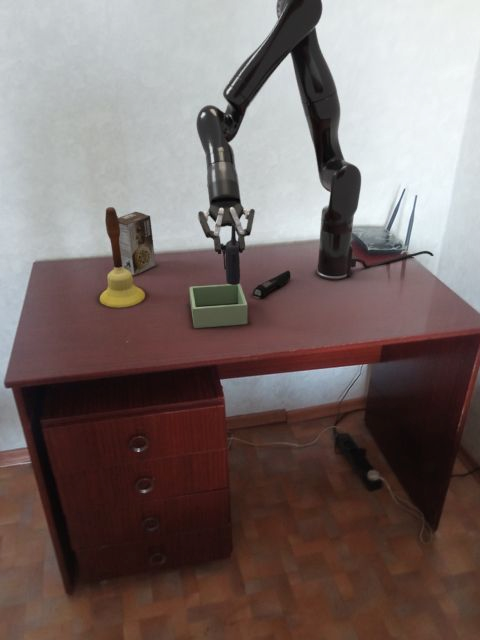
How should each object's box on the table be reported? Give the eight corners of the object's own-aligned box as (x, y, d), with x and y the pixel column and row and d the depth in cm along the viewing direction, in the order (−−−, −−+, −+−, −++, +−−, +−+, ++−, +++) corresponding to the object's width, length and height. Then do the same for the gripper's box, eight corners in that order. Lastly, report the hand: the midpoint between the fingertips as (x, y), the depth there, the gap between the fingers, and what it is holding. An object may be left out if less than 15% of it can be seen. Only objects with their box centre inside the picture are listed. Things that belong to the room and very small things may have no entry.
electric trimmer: (293, 281, 162) (294, 271, 161) (262, 299, 152) (262, 289, 150) (283, 278, 164) (283, 268, 163) (251, 295, 154) (251, 285, 152)
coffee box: (141, 261, 173) (136, 210, 165) (156, 266, 170) (151, 215, 161) (119, 270, 167) (112, 218, 158) (134, 275, 164) (127, 223, 155)
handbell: (154, 293, 154) (145, 206, 141) (123, 311, 145) (110, 219, 132) (121, 283, 159) (109, 198, 146) (89, 300, 150) (74, 210, 137)
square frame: (240, 301, 151) (240, 283, 148) (247, 324, 140) (247, 304, 137) (190, 305, 149) (189, 286, 146) (193, 328, 138) (192, 308, 135)
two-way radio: (240, 286, 132) (239, 226, 123) (222, 286, 131) (219, 226, 123) (239, 276, 136) (238, 217, 128) (221, 276, 136) (219, 218, 128)
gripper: (193, 179, 128) (200, 247, 124) (254, 176, 130) (262, 244, 127) (193, 194, 135) (199, 260, 132) (250, 192, 137) (258, 256, 134)
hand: (230, 252), depth 129 cm, fingers closed on two-way radio, 4 cm apart
